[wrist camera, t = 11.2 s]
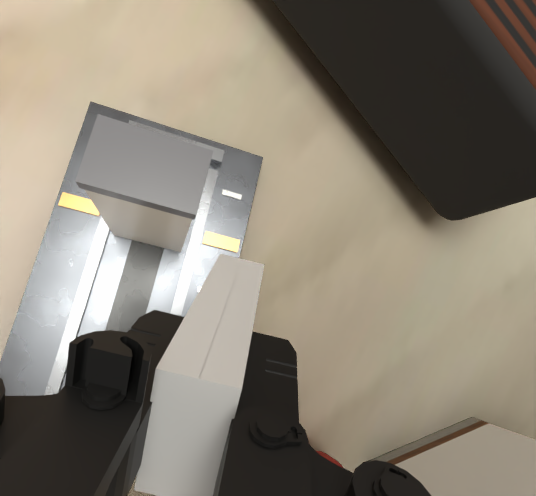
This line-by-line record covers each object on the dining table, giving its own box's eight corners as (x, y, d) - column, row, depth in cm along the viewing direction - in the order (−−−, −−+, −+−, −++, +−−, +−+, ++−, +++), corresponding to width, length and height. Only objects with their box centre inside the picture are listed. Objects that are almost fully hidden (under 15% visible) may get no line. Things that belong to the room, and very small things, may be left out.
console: (189, 453, 30) (192, 466, 27) (-14, 423, 27) (-33, 435, 24) (258, 163, 35) (266, 151, 32) (93, 110, 32) (87, 93, 29)
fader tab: (181, 254, 30) (196, 215, 18) (111, 236, 29) (74, 181, 17) (192, 214, 31) (213, 150, 18) (124, 195, 30) (97, 113, 17)
